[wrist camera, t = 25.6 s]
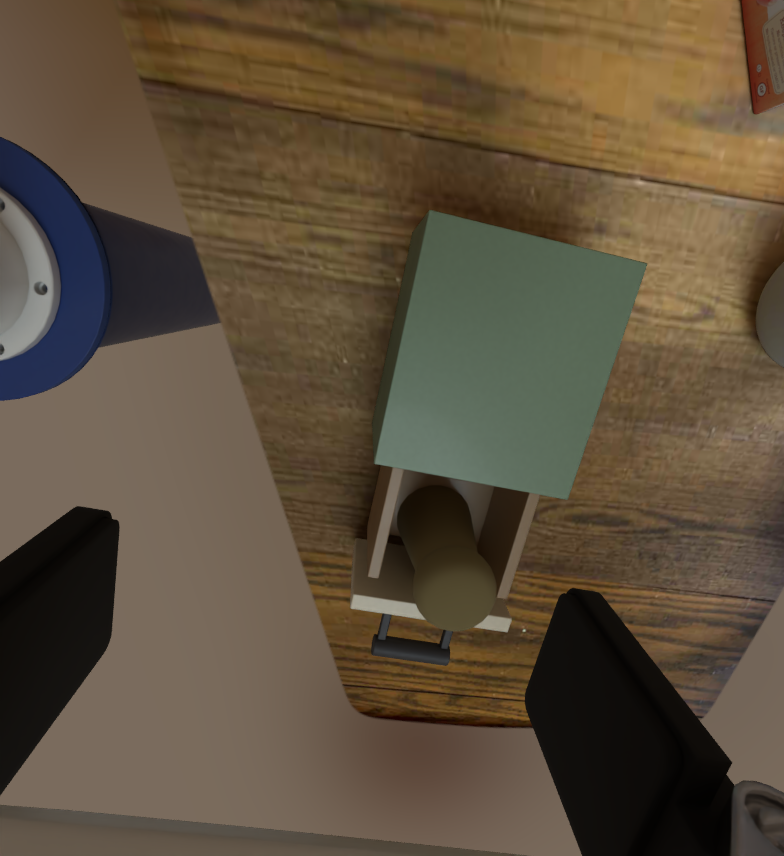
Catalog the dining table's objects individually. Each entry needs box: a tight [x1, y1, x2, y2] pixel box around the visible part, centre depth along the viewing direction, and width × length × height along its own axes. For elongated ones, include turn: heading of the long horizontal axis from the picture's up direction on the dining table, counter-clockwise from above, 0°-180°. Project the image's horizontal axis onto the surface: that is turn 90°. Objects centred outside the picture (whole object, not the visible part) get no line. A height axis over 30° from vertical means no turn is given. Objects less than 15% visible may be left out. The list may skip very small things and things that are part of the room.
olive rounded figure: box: [397, 485, 497, 631], centre depth 33 cm, size 6×6×11 cm
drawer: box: [350, 465, 540, 666], centre depth 36 cm, size 19×11×8 cm, turn 168°
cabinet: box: [372, 210, 647, 500], centre depth 32 cm, size 15×13×10 cm
